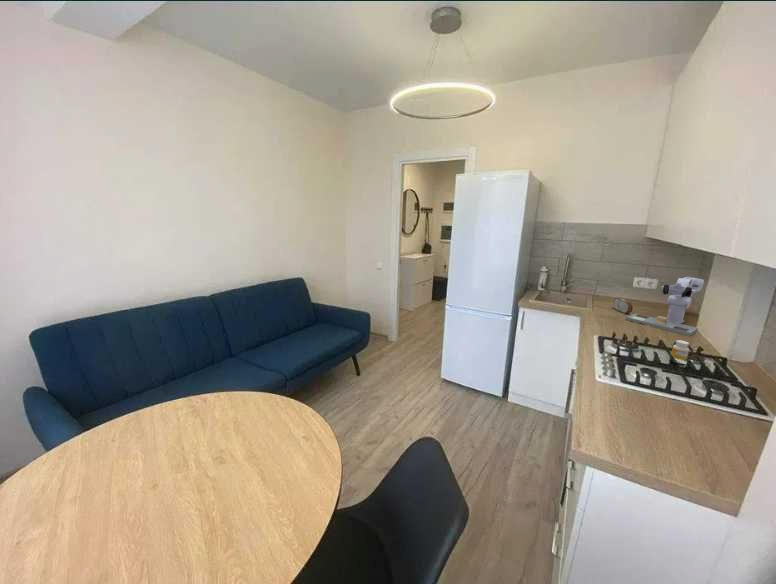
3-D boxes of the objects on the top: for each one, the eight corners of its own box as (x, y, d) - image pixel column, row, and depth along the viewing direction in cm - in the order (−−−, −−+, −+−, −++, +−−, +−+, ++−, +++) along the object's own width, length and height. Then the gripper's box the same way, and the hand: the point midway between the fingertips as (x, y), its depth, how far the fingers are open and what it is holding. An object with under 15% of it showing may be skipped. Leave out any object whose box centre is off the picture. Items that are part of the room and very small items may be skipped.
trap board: (634, 316, 204) (634, 313, 203) (697, 331, 180) (698, 328, 180) (625, 320, 196) (626, 317, 195) (690, 336, 172) (691, 332, 172)
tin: (631, 315, 206) (634, 302, 204) (626, 315, 206) (629, 302, 204) (616, 308, 221) (618, 296, 219) (611, 308, 221) (613, 296, 219)
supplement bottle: (670, 358, 144) (675, 338, 142) (686, 362, 140) (692, 342, 138) (668, 361, 141) (673, 341, 138) (684, 366, 137) (690, 345, 134)
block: (657, 322, 187) (659, 315, 186) (666, 324, 184) (667, 317, 183) (655, 323, 185) (657, 316, 184) (664, 325, 182) (665, 318, 181)
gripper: (665, 279, 191) (658, 285, 184) (698, 282, 180) (691, 289, 173) (663, 290, 193) (656, 296, 186) (696, 294, 182) (689, 301, 175)
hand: (673, 294), depth 179 cm, fingers open, 7 cm apart
